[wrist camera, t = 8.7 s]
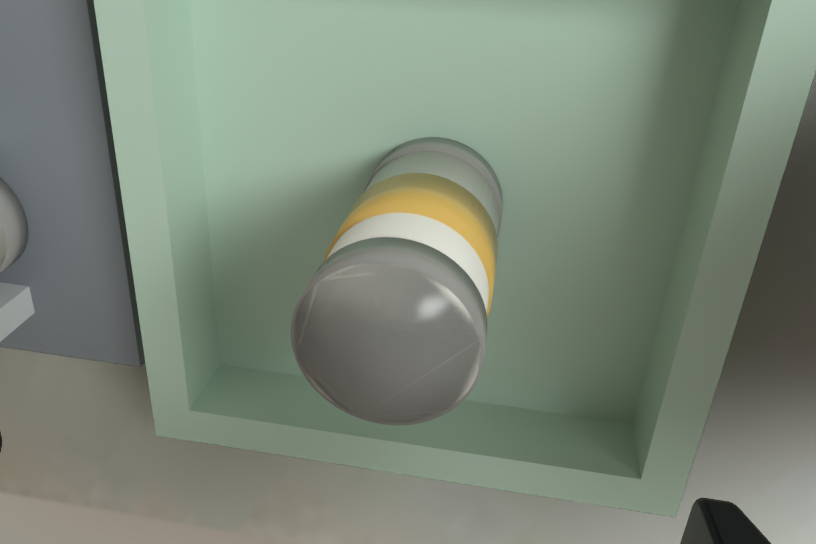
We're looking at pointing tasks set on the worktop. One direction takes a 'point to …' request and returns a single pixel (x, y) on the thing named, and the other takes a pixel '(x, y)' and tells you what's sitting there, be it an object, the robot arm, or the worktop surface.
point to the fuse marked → (405, 288)
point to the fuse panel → (63, 189)
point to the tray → (520, 226)
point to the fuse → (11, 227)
